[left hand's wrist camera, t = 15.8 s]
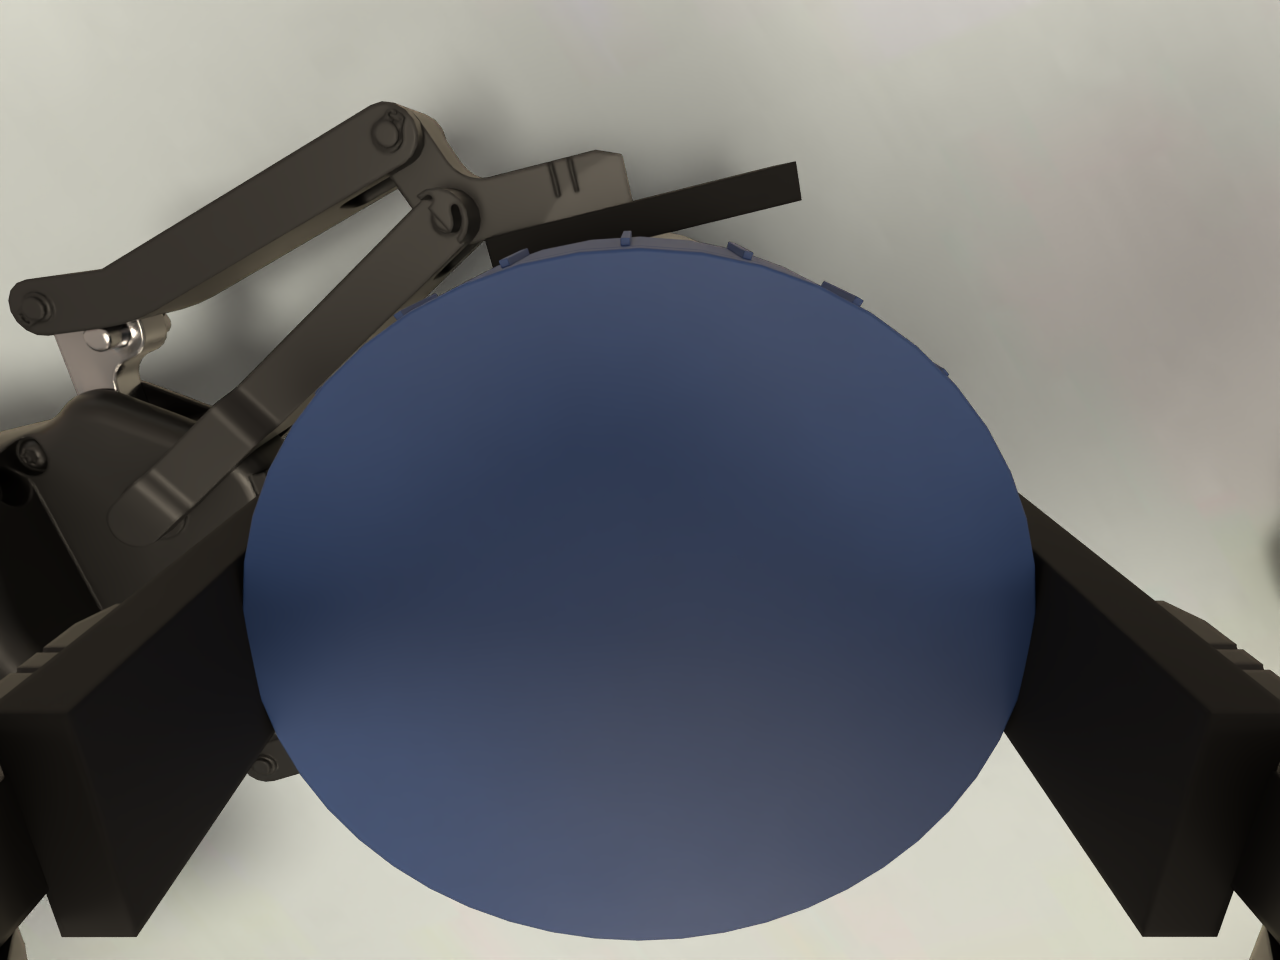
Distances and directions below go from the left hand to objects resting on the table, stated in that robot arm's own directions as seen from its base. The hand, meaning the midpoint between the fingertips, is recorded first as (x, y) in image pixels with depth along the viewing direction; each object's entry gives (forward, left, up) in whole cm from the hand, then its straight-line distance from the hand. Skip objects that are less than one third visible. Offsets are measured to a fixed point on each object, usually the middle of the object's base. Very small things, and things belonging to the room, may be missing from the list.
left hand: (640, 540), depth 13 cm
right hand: (-4, -2, -6) cm, 7 cm away
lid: (0, 0, +3) cm, 3 cm away
